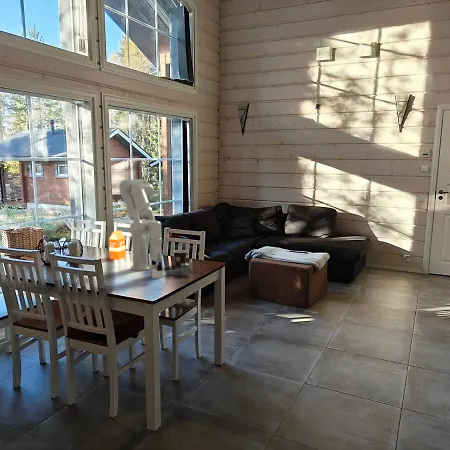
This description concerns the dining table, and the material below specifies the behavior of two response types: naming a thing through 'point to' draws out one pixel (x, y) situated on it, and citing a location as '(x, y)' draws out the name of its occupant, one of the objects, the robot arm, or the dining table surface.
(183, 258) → the coffee mug
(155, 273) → the lock
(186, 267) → the coupler
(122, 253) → the orange juice
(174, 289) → the dining table surface
